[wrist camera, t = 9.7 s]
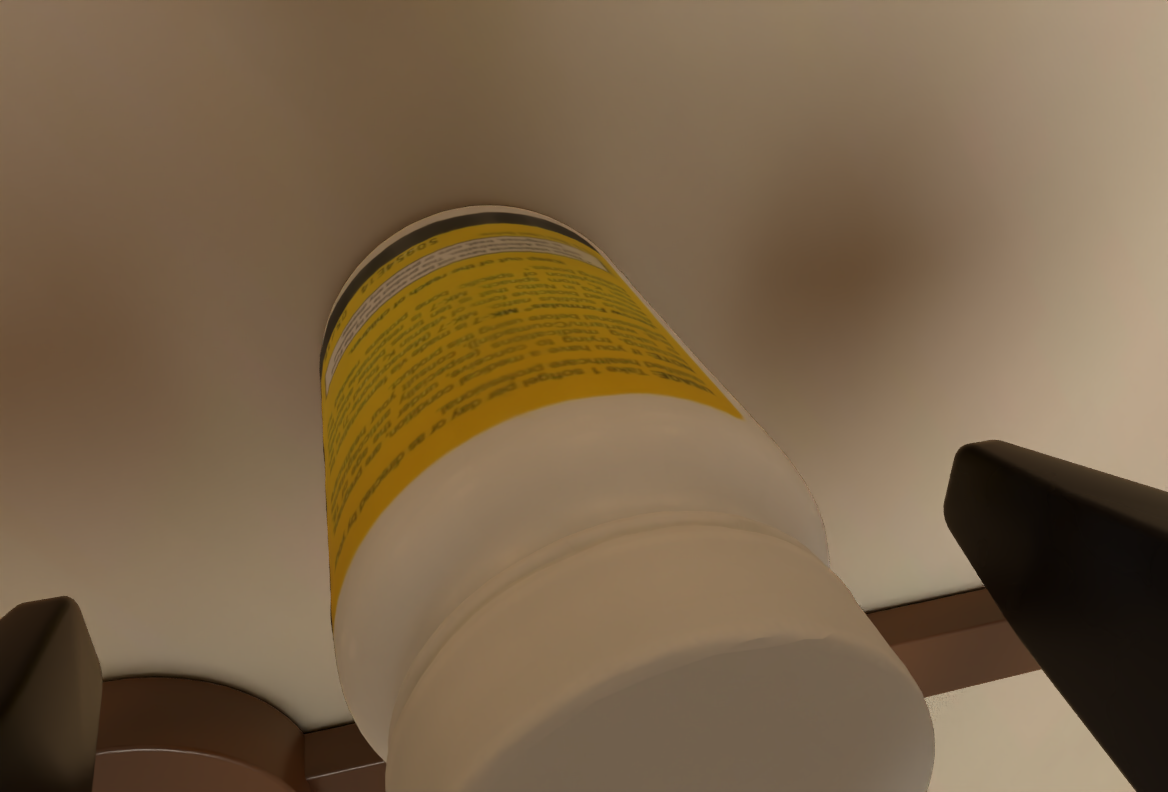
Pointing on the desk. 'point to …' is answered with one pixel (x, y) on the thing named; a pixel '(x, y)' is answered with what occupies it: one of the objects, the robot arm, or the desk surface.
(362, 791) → the wooden spoon
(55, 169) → the desk surface
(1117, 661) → the robot arm
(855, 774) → the supplement bottle
